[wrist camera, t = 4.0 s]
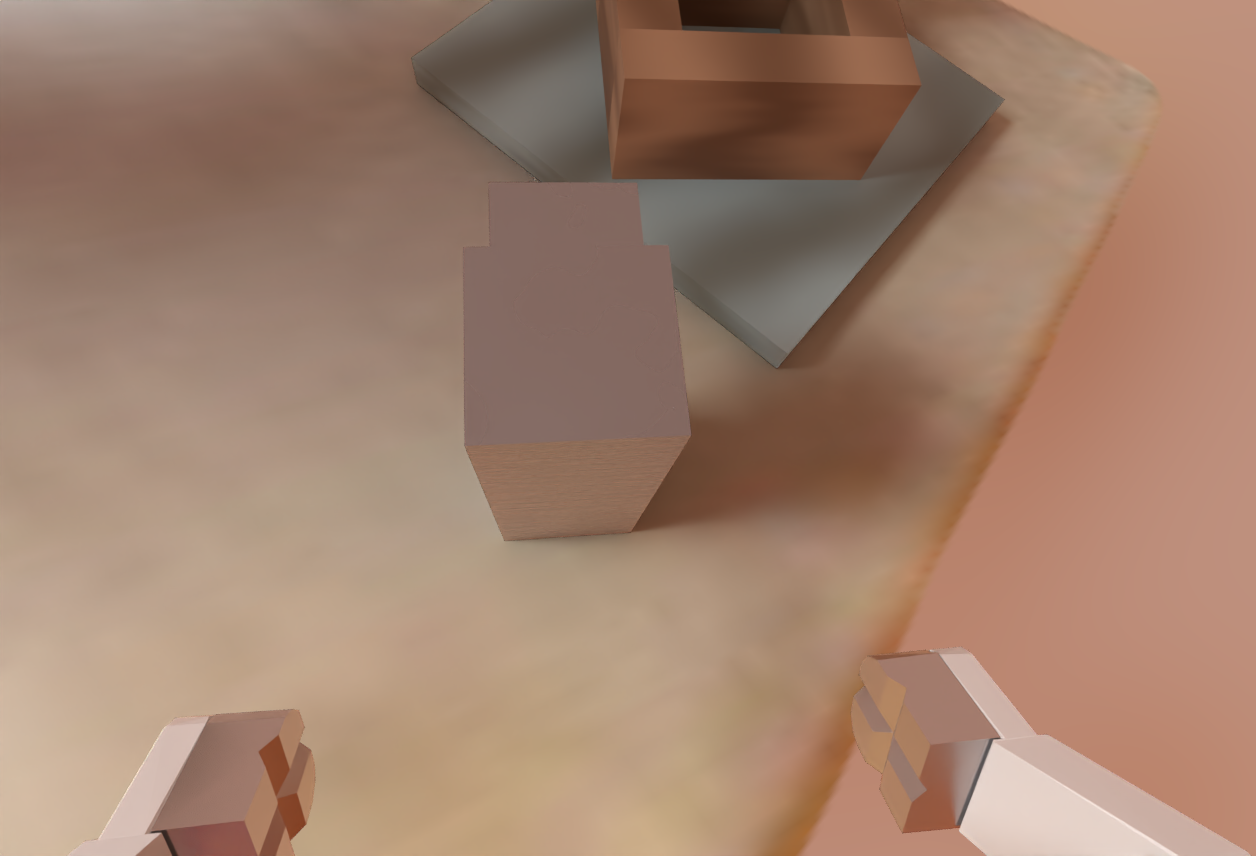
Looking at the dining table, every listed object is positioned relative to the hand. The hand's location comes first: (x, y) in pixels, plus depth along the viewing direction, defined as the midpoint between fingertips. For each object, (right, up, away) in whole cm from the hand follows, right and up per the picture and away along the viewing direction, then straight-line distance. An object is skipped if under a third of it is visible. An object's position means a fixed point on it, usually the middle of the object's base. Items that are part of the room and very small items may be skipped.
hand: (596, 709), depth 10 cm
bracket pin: (-2, +3, +12) cm, 12 cm away
